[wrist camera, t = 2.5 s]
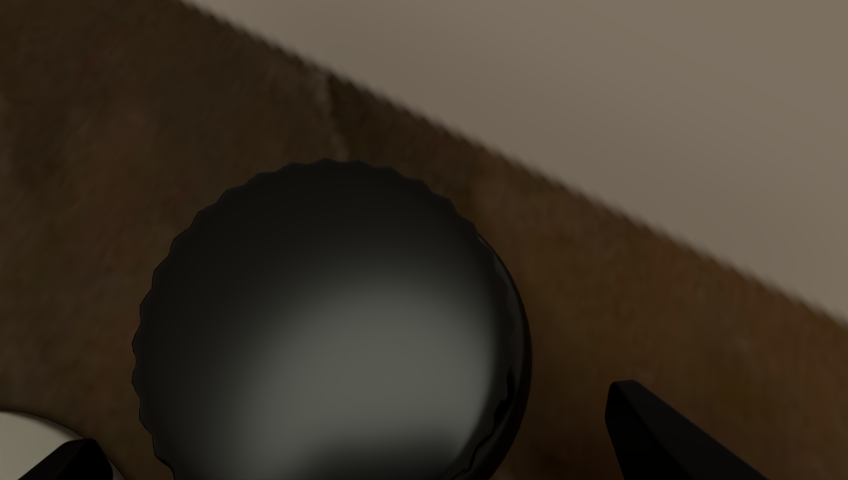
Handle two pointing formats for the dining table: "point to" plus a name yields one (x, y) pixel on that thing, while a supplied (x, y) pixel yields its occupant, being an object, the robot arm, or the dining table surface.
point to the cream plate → (30, 443)
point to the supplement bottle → (332, 335)
